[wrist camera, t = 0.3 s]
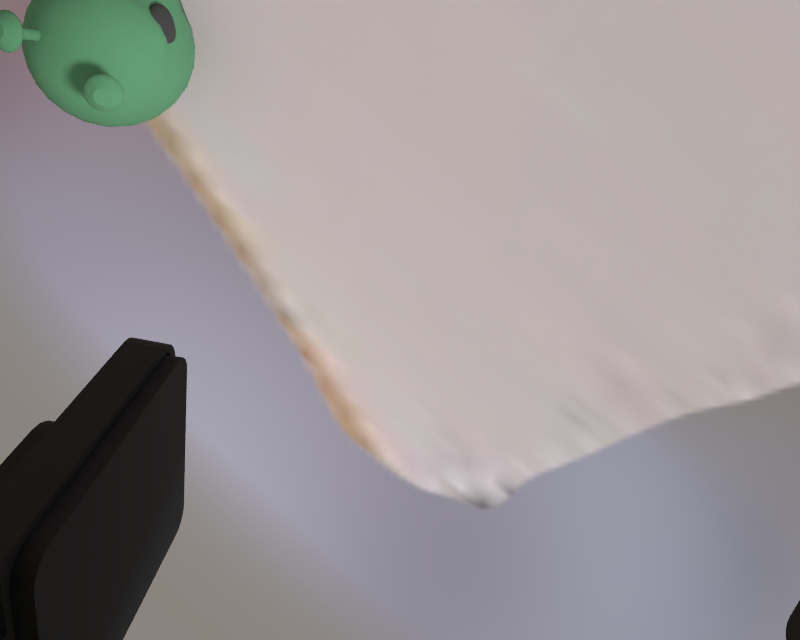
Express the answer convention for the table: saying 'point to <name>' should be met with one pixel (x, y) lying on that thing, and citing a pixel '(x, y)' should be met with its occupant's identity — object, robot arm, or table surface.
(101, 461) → the robot arm
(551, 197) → the table surface
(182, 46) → the alien toy
